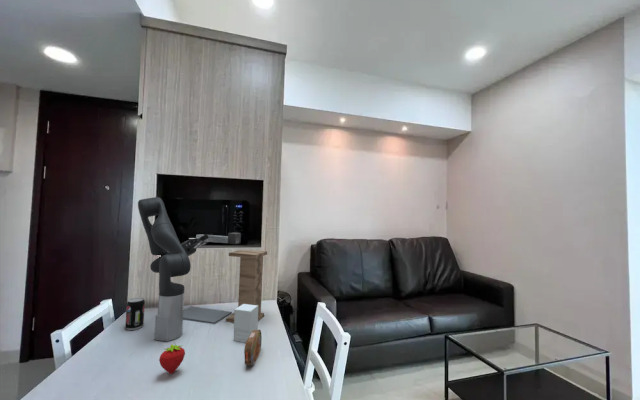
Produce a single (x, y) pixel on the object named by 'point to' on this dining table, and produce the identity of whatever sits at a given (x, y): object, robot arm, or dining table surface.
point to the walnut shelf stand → (249, 279)
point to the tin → (252, 347)
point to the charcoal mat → (204, 314)
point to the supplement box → (245, 321)
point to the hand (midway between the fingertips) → (209, 235)
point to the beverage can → (135, 313)
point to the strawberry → (172, 358)
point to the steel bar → (223, 238)
